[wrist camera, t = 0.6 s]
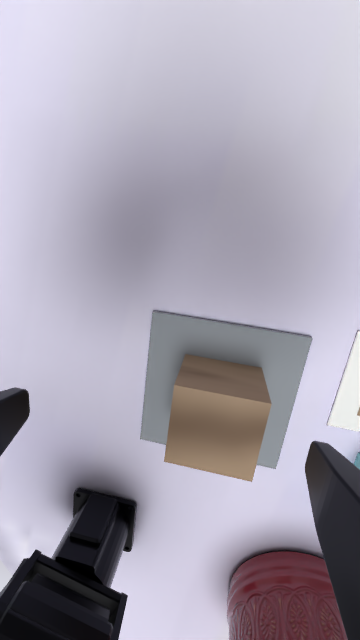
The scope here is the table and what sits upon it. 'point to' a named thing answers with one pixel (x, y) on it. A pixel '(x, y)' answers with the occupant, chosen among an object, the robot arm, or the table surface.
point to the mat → (227, 345)
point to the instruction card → (348, 393)
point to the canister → (283, 599)
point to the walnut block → (218, 417)
